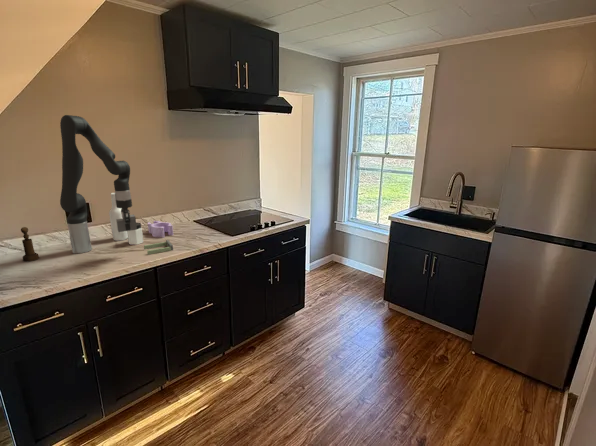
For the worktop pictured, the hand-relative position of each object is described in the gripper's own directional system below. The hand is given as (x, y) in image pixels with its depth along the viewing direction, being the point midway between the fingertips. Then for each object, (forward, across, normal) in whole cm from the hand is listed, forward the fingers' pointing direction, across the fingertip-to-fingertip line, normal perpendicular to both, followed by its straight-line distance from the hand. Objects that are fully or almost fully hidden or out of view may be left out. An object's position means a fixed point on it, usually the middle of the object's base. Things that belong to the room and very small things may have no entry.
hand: (127, 228), depth 174 cm
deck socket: (+15, 0, +14) cm, 21 cm away
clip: (+16, -32, +22) cm, 42 cm away
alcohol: (+16, -33, -2) cm, 37 cm away
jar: (+16, -20, +5) cm, 26 cm away
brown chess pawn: (+16, -20, -46) cm, 52 cm away
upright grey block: (+1, 0, 0) cm, 1 cm away
